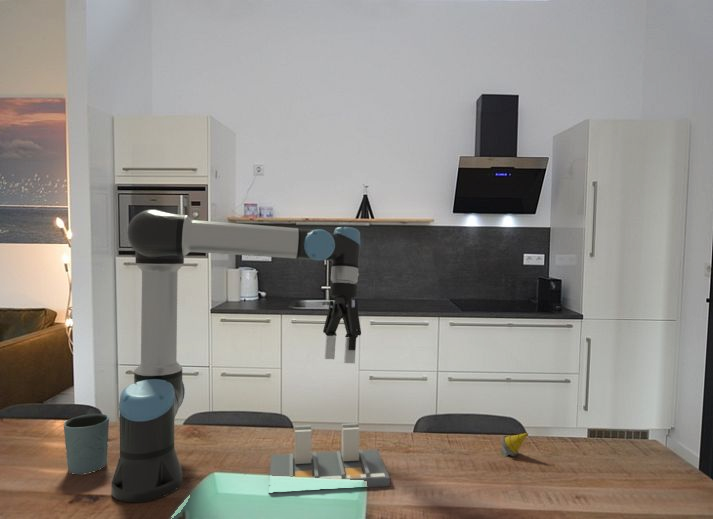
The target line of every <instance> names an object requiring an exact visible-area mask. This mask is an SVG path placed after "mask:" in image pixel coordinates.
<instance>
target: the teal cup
mask: <svg viewBox="0 0 713 519" xmlns="http://www.w3.org/2000/svg"><path fill="white" fill-rule="evenodd" d="M109 426H110V416H109V415H107V414H103V413H90V414H84V415H78V416H76V417H72V418H70V419H68V420H66V421H64V423H63V432H64V444H65V450H66V453H65V454H66V463H67V471H69V472H70V473H74V474H84V473H89V472H93V471H96V470H99V469H100V468H102V467H104V466H105V465H106V466H107V464H108V450H109V449H108V447H109V445H108V442H109ZM106 466H105V467H106ZM105 467H104V468H105ZM69 472H68V473H69ZM70 473H69V474H70Z"/></svg>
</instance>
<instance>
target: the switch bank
mask: <svg viewBox="0 0 713 519" xmlns="http://www.w3.org/2000/svg"><path fill="white" fill-rule="evenodd" d="M269 475H272V476H290V477H293V476H295V477H312V478H331V479H350V480H364V481H367V486H368V487H367V488H381V487H390V486H391V484H390V483H391V477H390V475H389V472H388V470H387V468H386V466H385V463H384V461H383V459H382V456H381V455H380V452H379V450H378V449H374V448H373V449H359V461H343V458H342V450H341V451H340V450H336V451H319V452H318V451H317V452H316V451H311V463H304V464H295V453H293V452H292V453H291V452H290V453H283V454H280V453H279V454H271V455H270V466H269ZM379 486H380V487H379Z"/></svg>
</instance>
